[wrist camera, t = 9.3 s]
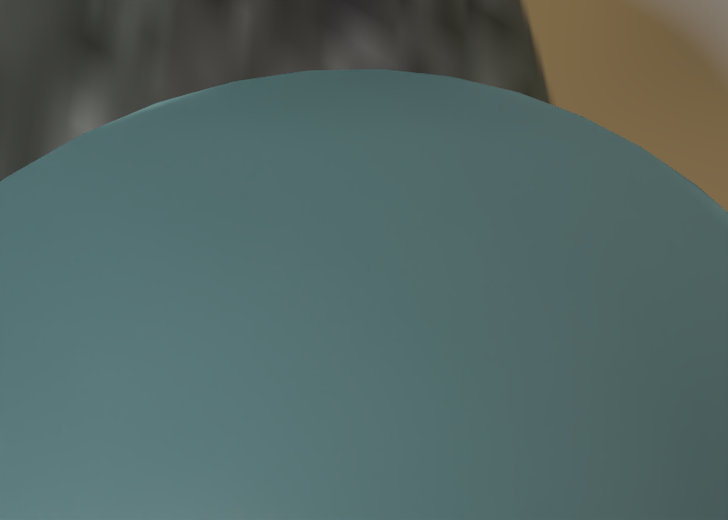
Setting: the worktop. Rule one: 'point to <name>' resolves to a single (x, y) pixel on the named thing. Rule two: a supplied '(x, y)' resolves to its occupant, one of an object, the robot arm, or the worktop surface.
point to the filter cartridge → (360, 313)
